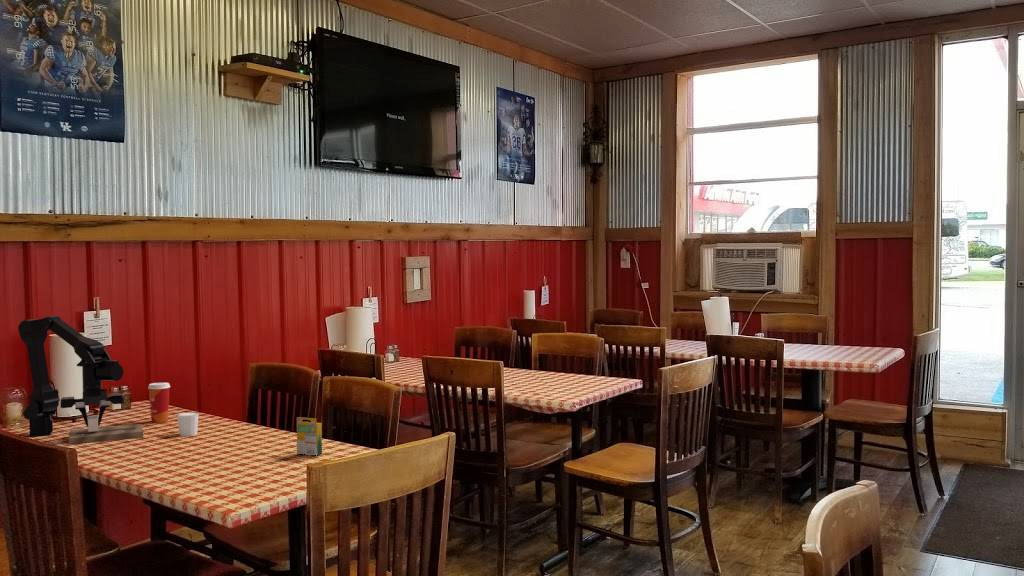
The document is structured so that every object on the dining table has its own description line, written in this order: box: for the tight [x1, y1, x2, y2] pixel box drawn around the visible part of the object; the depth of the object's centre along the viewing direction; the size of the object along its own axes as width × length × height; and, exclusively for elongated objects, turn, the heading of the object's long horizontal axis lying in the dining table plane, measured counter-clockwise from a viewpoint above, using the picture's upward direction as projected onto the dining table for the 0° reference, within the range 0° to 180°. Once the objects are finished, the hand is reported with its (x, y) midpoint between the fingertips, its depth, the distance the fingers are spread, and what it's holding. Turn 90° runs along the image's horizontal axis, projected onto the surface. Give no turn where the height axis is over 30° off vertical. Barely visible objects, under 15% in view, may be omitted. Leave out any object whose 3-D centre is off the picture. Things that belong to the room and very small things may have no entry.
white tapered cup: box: [176, 412, 200, 437], centre depth 279 cm, size 7×7×7 cm
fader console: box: [68, 423, 144, 445], centre depth 276 cm, size 22×14×2 cm, turn 117°
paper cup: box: [147, 382, 171, 424], centre depth 301 cm, size 8×8×14 cm
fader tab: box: [87, 414, 99, 432], centre depth 274 cm, size 3×6×5 cm, turn 27°
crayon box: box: [296, 416, 323, 457], centre depth 250 cm, size 7×3×12 cm, turn 70°
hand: (93, 426), depth 274 cm, fingers closed on fader tab, 3 cm apart
